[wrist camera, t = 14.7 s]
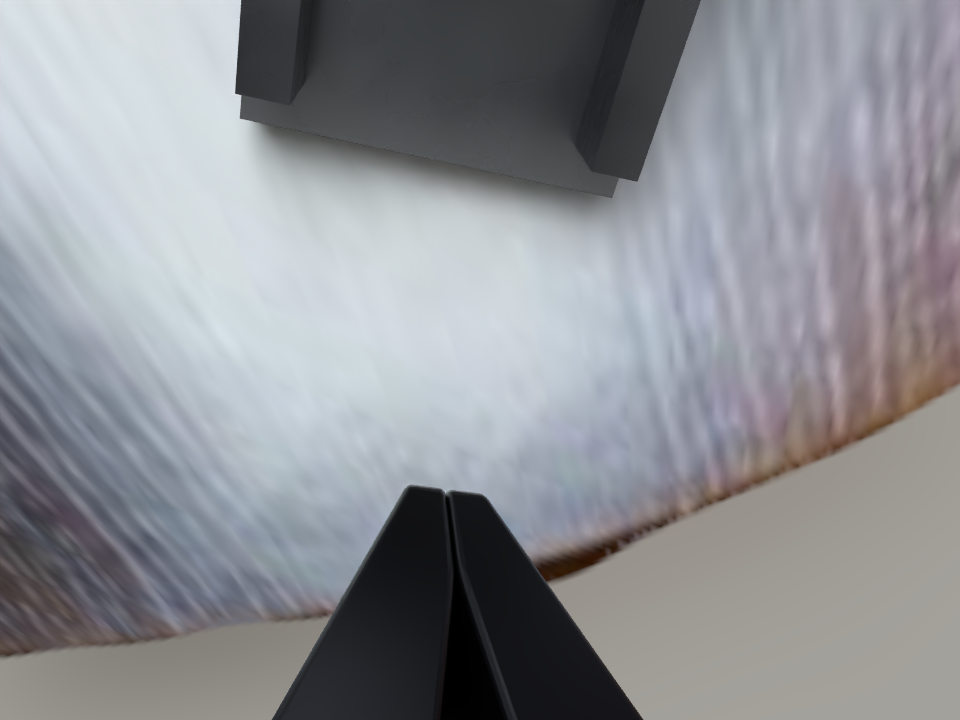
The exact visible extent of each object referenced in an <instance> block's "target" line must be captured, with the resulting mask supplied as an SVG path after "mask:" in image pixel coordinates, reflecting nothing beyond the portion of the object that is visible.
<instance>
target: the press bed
mask: <svg viewBox="0 0 960 720" xmlns="http://www.w3.org/2000/svg"><path fill="white" fill-rule="evenodd" d="M700 1H701V0H241V14H240V29H239V44H238V59H237V74H236V89H235V94H239V95H242V96H241V110H240V119H245V120H249V121H254V122H259V123H263V124H268V125H273V126H277V127H282V128H287V129H291V130H296V131H301V132H305V133H310V134H315V135H320V136H324V137H329V138H334V139H338V140H343V141H348V142H352V143H357V144H362V145H366V146H371V147H376V148H380V149H385V150H390V151H394V152H399V153H404V154H409V155H413V156H418V157H423V158H427V159H432V160H437V161H441V162H446V163H451V164H455V165H460V166H465V167H469V168H474V169H479V170H484V171H488V172H493V173H498V174H502V175H507V176H512V177H516V178H521V179H526V180H530V181H535V182H540V183H544V184H549V185H554V186H558V187H563V188H568V189H573V190H577V191H582V192H587V193H591V194H596V195H601V196H605V197H610V198H612V196H613V193H614V190H615V187H616V184H617V181H618V178H623V179H628V180H632V181H637V182H638V179H639V176H640V173H641V170H642V167H643V164H644V161H645V159H646V156H647V153H648V150H649V147H650V144H651V141H652V139H653V136H654V133H655V130H656V127H657V124H658V121H659V118H660V116H661V113H662V110H663V107H664V104H665V101H666V98H667V96H668V93H669V90H670V87H671V84H672V81H673V78H674V75H675V73H676V70H677V67H678V64H679V61H680V58H681V55H682V52H683V50H684V47H685V44H686V41H687V38H688V35H689V32H690V30H691V27H692V24H693V21H694V18H695V15H696V12H697V9H698V7H699V4H700Z"/></svg>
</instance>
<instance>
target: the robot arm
mask: <svg viewBox="0 0 960 720" xmlns="http://www.w3.org/2000/svg"><path fill="white" fill-rule="evenodd" d="M272 720H643V719H642V717H641V716H640V714H639V713H638V712H637V710H636V709H635V707H633V705H632V703H631V702H630V701H629V699H628V697H627V696H626V695H625V693H624V692H623V690H622V689H621V687H620V686H619V685H618V683H617V682H616V680H615V679H614V678H613V676H612V675H611V673H610V672H609V671H608V669H607V668H606V666H605V665H604V664H603V662H602V660H601V659H600V658H599V656H598V655H597V654H596V652H595V651H594V649H593V648H592V646H591V645H590V643H589V642H588V641H587V639H586V638H585V636H584V635H583V634H582V632H581V631H580V629H579V628H578V626H577V625H576V624H575V622H574V621H573V619H572V618H571V616H570V615H569V614H568V612H567V611H566V609H565V608H564V607H563V605H562V604H561V602H560V601H559V600H558V598H557V597H556V595H555V594H554V592H553V591H552V589H551V588H550V587H549V585H548V584H547V582H546V581H545V580H544V578H543V577H542V575H541V574H540V572H539V571H538V570H537V568H536V567H535V565H534V564H533V562H532V561H531V560H530V558H529V557H528V555H527V554H526V553H525V551H524V550H523V548H522V547H521V545H520V544H519V543H518V541H517V540H516V538H515V537H514V536H513V534H512V533H511V531H510V530H509V528H508V527H507V526H506V524H505V523H504V521H503V520H502V518H501V517H500V516H499V514H498V513H497V511H496V510H495V509H494V507H493V506H492V504H491V503H490V501H489V500H488V499H487V498H486V497H485V496H484V495H482V494H479V493H472V492H464V491H456V490H450V491H448V492H447V493H446V494H445V492H444V491H443V490H442V489H439V488H433V487H425V486H417V485H409V486H407V487H406V488H405V489H404V491H403V493H402V494H401V496H400V498H399V500H398V501H397V503H396V505H395V507H394V508H393V510H392V512H391V513H390V515H389V517H388V519H387V520H386V522H385V524H384V526H383V527H382V529H381V531H380V533H379V534H378V536H377V538H376V540H375V541H374V543H373V545H372V547H371V548H370V550H369V552H368V554H367V555H366V557H365V559H364V560H363V562H362V564H361V566H360V567H359V569H358V571H357V573H356V574H355V576H354V578H353V580H352V581H351V583H350V585H349V587H348V588H347V590H346V592H345V594H344V595H343V597H342V599H341V600H340V602H339V604H338V606H337V607H336V609H335V611H334V613H333V614H332V616H331V618H330V620H329V621H328V623H327V625H326V627H325V628H324V630H323V632H322V634H321V635H320V637H319V639H318V641H317V642H316V644H315V646H314V647H313V649H312V651H311V653H310V655H309V656H308V658H307V660H306V661H305V663H304V665H303V667H302V668H301V670H300V672H299V674H298V675H297V677H296V679H295V681H294V682H293V684H292V686H291V688H290V689H289V691H288V693H287V695H286V696H285V698H284V700H283V701H282V703H281V705H280V707H279V709H278V710H277V712H276V714H275V716H274V717H273V719H272Z"/></svg>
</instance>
